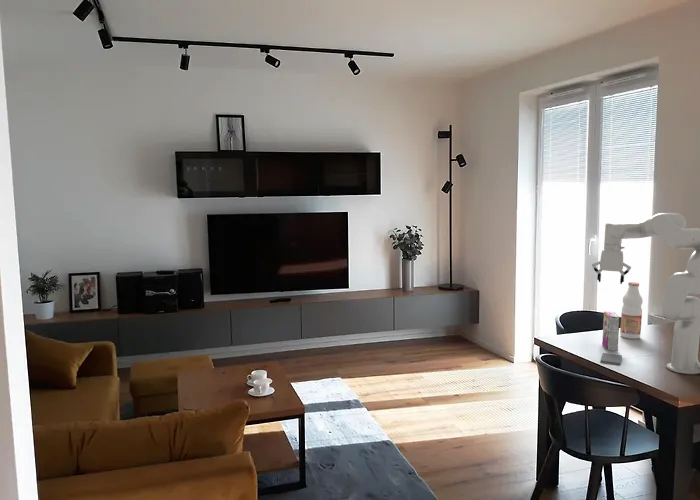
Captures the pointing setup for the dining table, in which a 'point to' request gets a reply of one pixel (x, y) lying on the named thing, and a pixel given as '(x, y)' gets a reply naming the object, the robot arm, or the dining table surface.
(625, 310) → the fruit juice
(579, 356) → the dining table surface
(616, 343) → the candy bar box
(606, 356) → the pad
